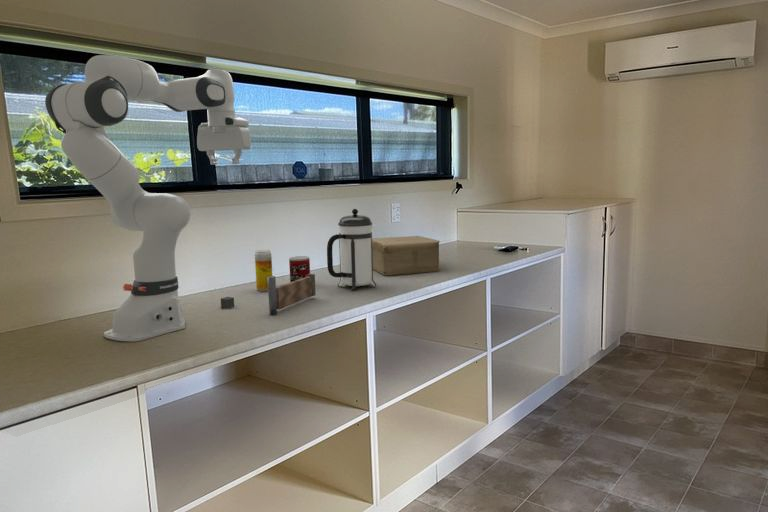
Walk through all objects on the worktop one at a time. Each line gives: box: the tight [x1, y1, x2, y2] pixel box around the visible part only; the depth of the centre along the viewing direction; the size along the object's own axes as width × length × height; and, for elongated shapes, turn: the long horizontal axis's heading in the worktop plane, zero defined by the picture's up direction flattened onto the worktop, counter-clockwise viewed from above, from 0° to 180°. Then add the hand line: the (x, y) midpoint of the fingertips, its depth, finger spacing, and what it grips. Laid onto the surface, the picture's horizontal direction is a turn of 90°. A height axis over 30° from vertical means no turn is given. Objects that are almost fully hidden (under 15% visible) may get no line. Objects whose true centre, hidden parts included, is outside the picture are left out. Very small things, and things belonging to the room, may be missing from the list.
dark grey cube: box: [220, 296, 235, 309], centre depth 180 cm, size 3×3×3 cm
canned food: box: [288, 255, 311, 283], centre depth 211 cm, size 8×8×11 cm
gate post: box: [267, 275, 278, 316], centre depth 169 cm, size 2×2×12 cm
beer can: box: [254, 249, 273, 292], centre depth 203 cm, size 6×6×15 cm
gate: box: [276, 273, 317, 310], centre depth 181 cm, size 21×2×8 cm, turn 155°
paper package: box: [372, 235, 440, 276], centre depth 240 cm, size 27×26×14 cm
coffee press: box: [326, 208, 377, 292], centre depth 203 cm, size 17×16×30 cm
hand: (224, 164), depth 179 cm, fingers open, 8 cm apart
